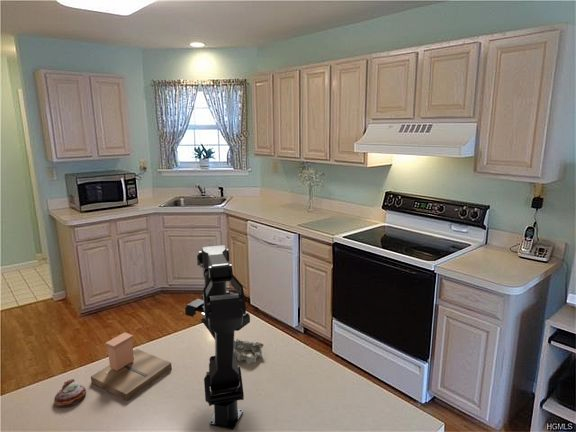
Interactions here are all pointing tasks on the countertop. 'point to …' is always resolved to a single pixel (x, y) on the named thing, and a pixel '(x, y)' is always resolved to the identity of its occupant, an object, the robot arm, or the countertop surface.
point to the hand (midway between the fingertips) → (218, 341)
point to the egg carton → (247, 346)
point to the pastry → (69, 394)
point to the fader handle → (120, 351)
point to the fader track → (132, 375)
